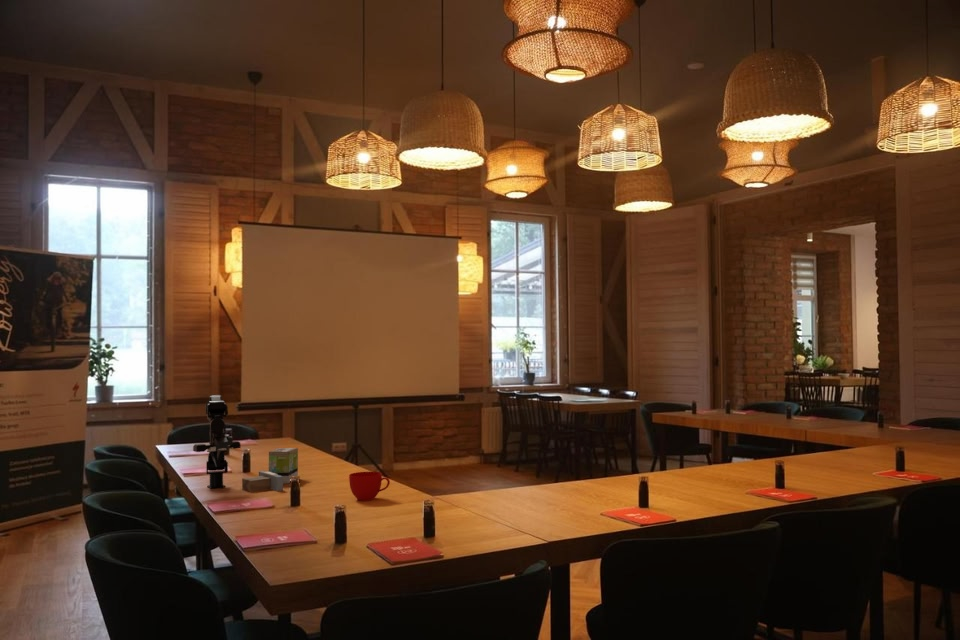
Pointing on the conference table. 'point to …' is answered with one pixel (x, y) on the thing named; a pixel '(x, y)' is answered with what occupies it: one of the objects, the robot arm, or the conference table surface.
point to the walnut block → (256, 483)
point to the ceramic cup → (366, 485)
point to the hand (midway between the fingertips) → (217, 466)
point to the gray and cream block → (273, 480)
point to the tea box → (284, 462)
